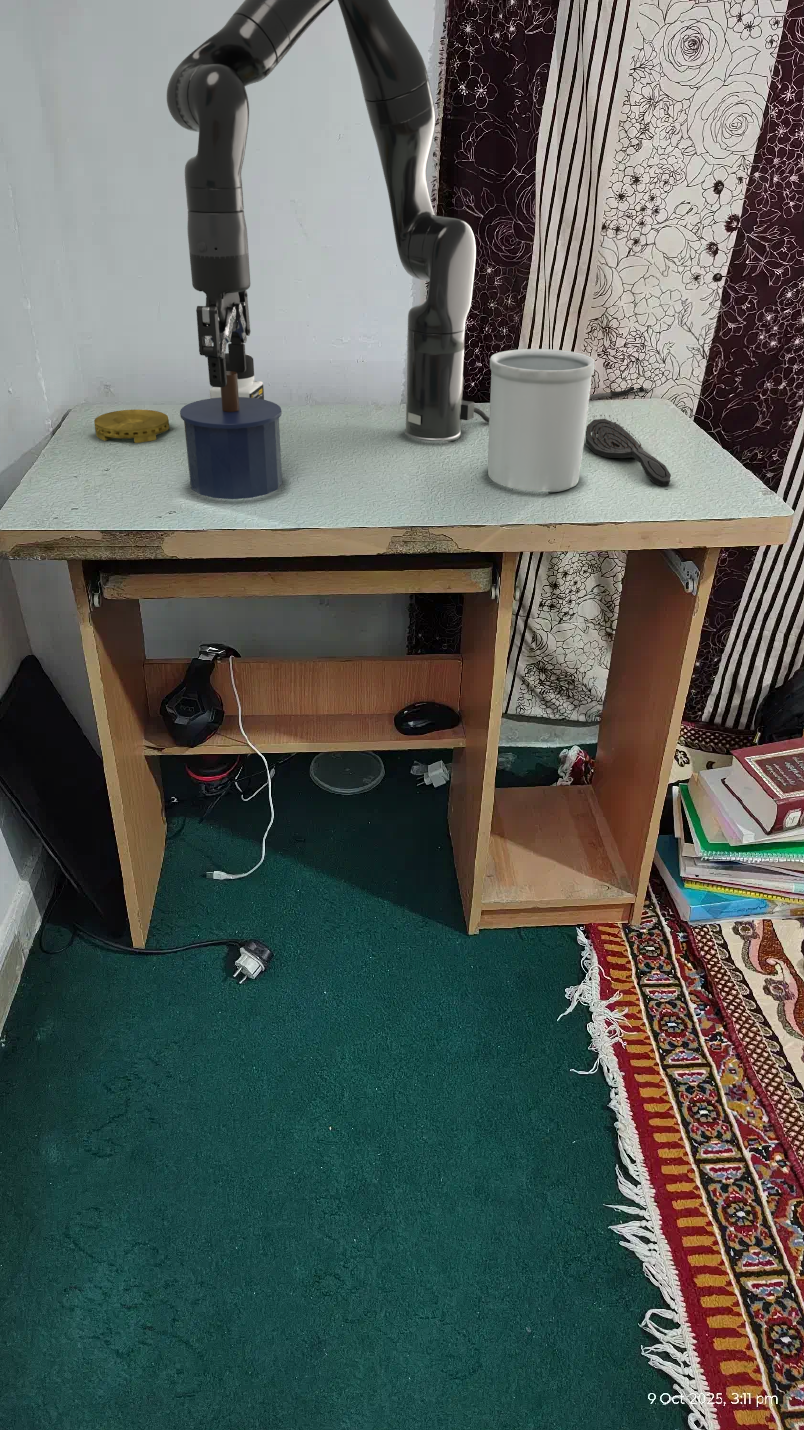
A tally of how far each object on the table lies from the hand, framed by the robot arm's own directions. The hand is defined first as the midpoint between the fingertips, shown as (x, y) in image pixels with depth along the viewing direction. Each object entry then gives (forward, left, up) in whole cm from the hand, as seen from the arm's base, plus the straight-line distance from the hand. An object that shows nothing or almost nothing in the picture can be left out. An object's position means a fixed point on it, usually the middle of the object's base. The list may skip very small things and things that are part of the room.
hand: (228, 379), depth 135 cm
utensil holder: (-27, +35, -16) cm, 47 cm away
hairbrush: (-44, +45, -16) cm, 64 cm away
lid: (0, 0, -5) cm, 5 cm away
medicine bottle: (-24, -18, -16) cm, 34 cm away
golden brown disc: (-12, -31, -16) cm, 37 cm away
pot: (0, 0, -15) cm, 15 cm away
